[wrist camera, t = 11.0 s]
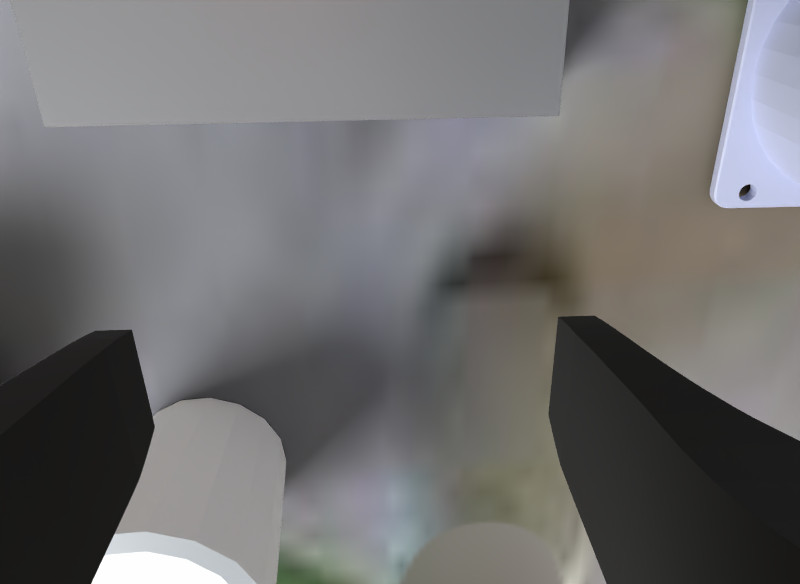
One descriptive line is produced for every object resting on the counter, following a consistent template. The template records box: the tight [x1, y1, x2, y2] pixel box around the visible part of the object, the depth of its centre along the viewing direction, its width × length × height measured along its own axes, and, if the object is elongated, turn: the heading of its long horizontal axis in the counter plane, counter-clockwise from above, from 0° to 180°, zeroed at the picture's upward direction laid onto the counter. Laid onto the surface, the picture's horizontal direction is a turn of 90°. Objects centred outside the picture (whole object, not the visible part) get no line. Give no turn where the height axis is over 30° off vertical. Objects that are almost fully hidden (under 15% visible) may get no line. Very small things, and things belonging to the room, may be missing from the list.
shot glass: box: [91, 398, 286, 584], centre depth 23 cm, size 7×7×7 cm
